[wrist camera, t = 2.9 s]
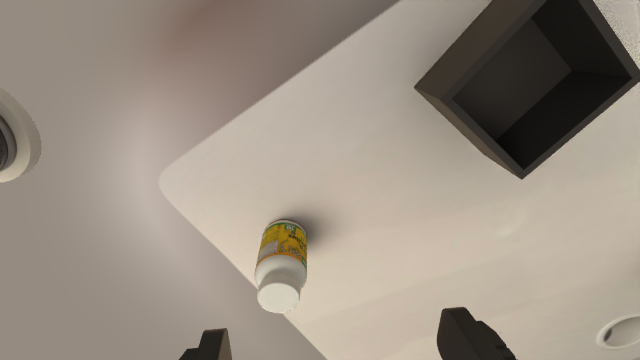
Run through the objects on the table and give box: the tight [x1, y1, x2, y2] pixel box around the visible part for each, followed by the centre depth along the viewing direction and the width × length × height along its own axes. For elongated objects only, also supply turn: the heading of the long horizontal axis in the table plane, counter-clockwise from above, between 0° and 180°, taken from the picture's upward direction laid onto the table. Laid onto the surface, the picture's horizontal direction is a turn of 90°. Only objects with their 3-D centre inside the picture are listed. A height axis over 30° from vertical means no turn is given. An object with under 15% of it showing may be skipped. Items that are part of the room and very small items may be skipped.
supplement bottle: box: [255, 220, 307, 313], centre depth 32 cm, size 5×5×10 cm
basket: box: [414, 0, 640, 180], centre depth 26 cm, size 11×11×6 cm
